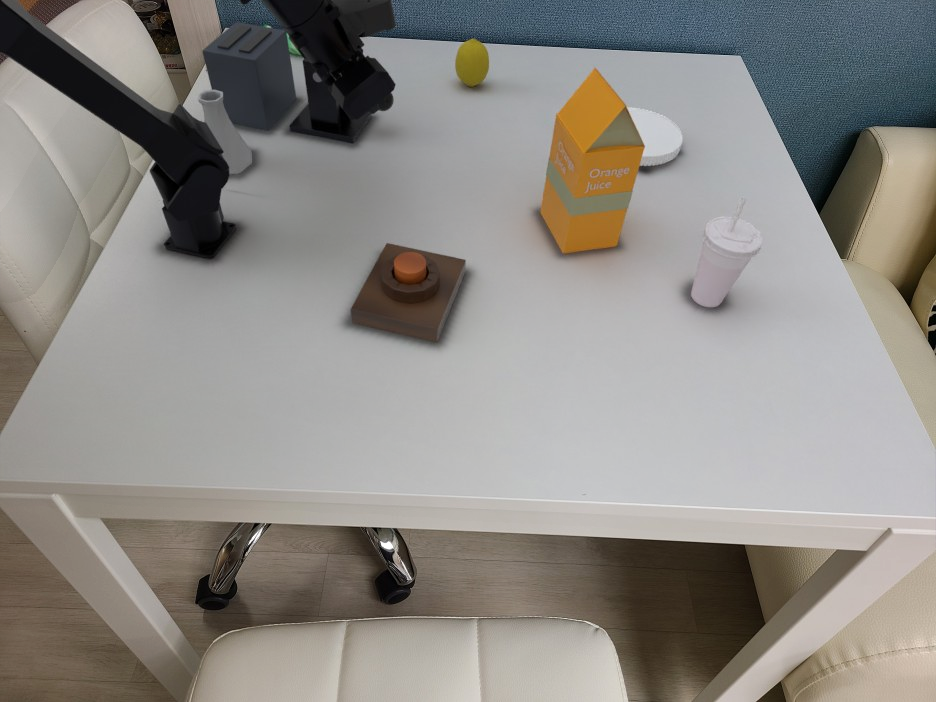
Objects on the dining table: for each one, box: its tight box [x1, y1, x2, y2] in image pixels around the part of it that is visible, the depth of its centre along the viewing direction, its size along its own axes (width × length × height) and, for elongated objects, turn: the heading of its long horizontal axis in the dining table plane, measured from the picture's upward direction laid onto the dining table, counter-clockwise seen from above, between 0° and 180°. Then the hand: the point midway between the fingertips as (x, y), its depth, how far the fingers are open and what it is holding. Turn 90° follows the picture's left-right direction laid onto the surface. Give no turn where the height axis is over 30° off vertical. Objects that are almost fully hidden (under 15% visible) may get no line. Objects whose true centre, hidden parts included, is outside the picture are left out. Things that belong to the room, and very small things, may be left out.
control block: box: [350, 242, 467, 343], centre depth 77 cm, size 12×10×4 cm
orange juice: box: [539, 66, 645, 254], centre depth 81 cm, size 8×9×20 cm
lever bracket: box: [289, 58, 373, 144], centre depth 98 cm, size 10×8×11 cm
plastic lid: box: [626, 106, 684, 167], centre depth 102 cm, size 14×14×2 cm
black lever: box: [378, 92, 395, 112], centre depth 96 cm, size 12×3×3 cm, turn 75°
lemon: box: [454, 38, 490, 88], centre depth 110 cm, size 6×6×8 cm
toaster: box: [201, 21, 297, 132], centre depth 100 cm, size 10×8×11 cm
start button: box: [394, 252, 426, 285], centre depth 75 cm, size 4×4×2 cm
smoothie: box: [690, 196, 764, 308], centre depth 76 cm, size 6×6×14 cm
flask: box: [197, 89, 253, 175], centre depth 91 cm, size 7×7×10 cm
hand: (375, 110), depth 84 cm, fingers closed
